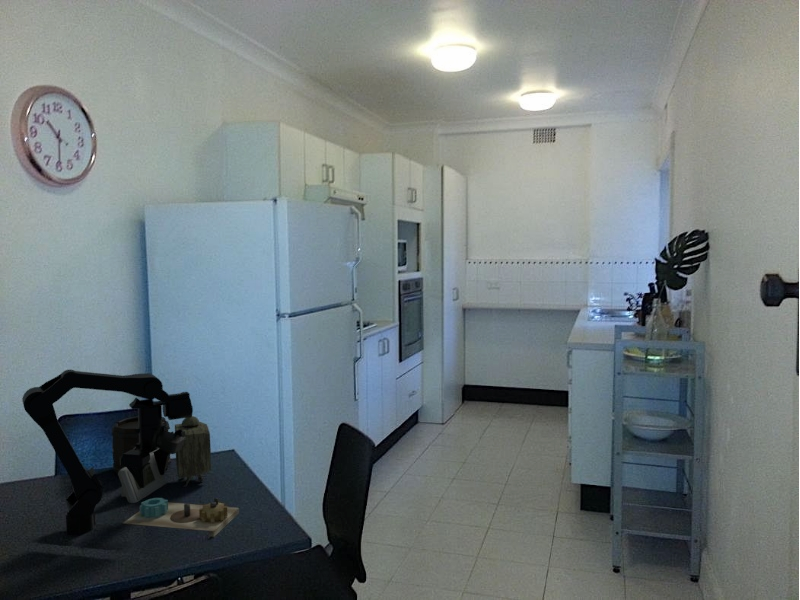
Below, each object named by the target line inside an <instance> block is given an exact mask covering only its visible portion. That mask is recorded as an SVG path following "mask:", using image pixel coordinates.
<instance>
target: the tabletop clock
mask: <svg viewBox="0 0 800 600" xmlns="http://www.w3.org/2000/svg"><path fill="white" fill-rule="evenodd" d="M179 429H182V430H184V431H185V437H186V438H185V439H186V442H185V443H183V445H182V448H181V450H180V451H177V452H176V453H175V464H176V472H177V476H178V478H179V479H180V478H181V479H185V478H186V481H185V484H184V485H183V487H188V485H189V482H190V480H191V479H192V477H195V476H198V478H197V481H198V482H199V483H202V482H203V481H204V478H203V476H202V475H206V474H207V473H209V472H211V471H212V456H211V455H212V452H211V450H212V449H211V447H212V446H211V434H210V429H209V426H208V424H207V423H205V422H202V421H200V420H199V419H198V417H196V416H194V415H192V417H188V418H183V420H182V421H181V423H175V424H174V433H175V432H176V431H177V430H179Z"/></svg>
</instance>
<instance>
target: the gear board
mask: <svg viewBox="0 0 800 600" xmlns="http://www.w3.org/2000/svg"><path fill="white" fill-rule="evenodd" d="M239 510H240V508H239V507H230V506H228V505H226V503H224V502H222V503H221V502H219V497H214V498H213V501H211V502H210V503H207V504H193V503H182V502H169V501H168V510H167V513H165V514H163V515H160V516H158V517H151V518H150V517H148V518H146V517H145V516H143V515H142V516H141V515H140V510H139V511H137V512H136V513H135V514H133V515H132V516H131V517H129V518H128V519H126V520H125V521H123V522H122V524H126V525H136V526H139V525H140V526H147V527H148V526H150V527H160V528H161V527H162V528H173V529H182V530H192V531H193V530H195V531H205V532H206V531H207V532H209V533H208V534H207V535H206V537H209V538H210V537H211V538H214V537H216V535H218V534H219V533H220V532H221V531H222V530H223V529H224V528H225V527H226V526H228V524H230V522H232V520H234V519H235V518H236V517H237V516H238V515H239V514H240V511H239Z"/></svg>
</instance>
